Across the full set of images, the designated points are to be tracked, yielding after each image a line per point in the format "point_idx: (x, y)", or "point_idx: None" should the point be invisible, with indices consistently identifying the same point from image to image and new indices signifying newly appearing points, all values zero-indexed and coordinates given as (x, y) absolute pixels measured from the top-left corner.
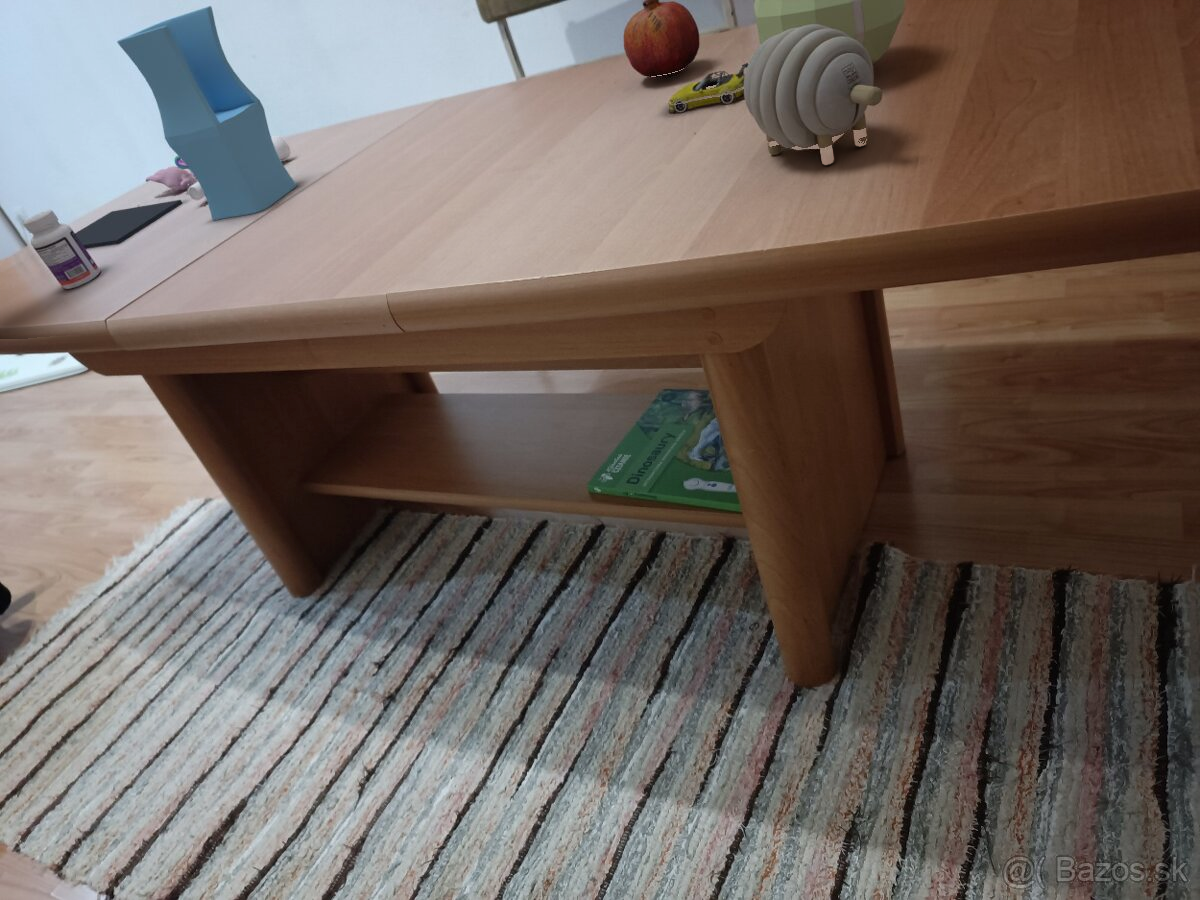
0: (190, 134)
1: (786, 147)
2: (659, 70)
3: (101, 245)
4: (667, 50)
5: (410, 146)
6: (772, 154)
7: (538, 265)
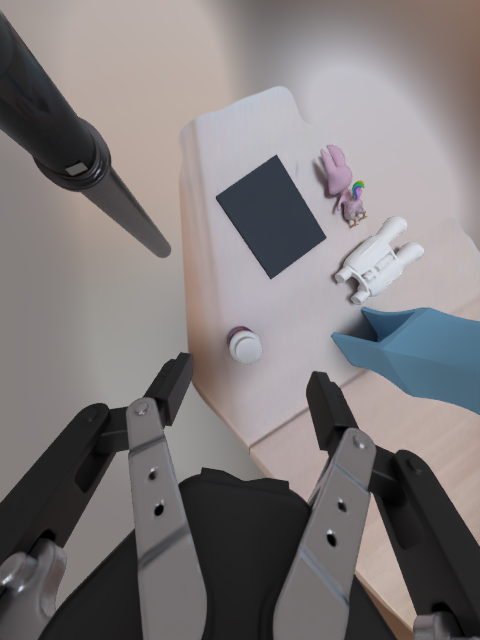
0: (396, 372)
1: None
2: None
3: (258, 260)
4: None
5: None
6: None
7: (393, 595)
